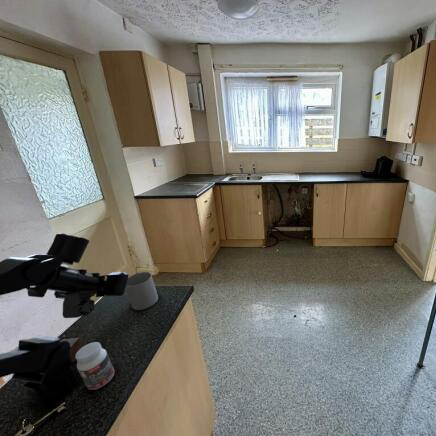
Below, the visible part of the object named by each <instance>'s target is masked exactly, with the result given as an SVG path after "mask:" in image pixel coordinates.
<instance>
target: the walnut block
mask: <svg viewBox="0 0 436 436" xmlns="http://www.w3.org/2000/svg"><path fill="white" fill-rule="evenodd" d="M62 340H63V341H68V342H69V343H70V346H71V349H70V364H74V363H75V362H76V361H77V360H76V357H75V355H76V353H77V352H78V351H79V350H80V349H81V348H82V347H84V345H83V342H82V341H81V339H80V337H74V338H64V339H62Z"/></svg>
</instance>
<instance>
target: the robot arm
mask: <svg viewBox="0 0 436 436" xmlns="http://www.w3.org/2000/svg"><path fill="white" fill-rule="evenodd" d="M89 243H90V240H89V239H88V238H85V237H82V236H75V235H71V234H66V233H60V232H59V233H58V232H57V233H56V234H55V236H54V238H53V241H52V243H51V246H49V249H48V250H47V252H46V254H45V253H35V254H33V255H29V256H24V257H23V256H21V257H20V256H12V257H11V256H10V257H7V258H4V259H3V260H1V261H0V296H3V295H8V294H11V293H15V292H19V291H22V290H25V289H26V291H27V296H28V297H30V298H31V297H33V298H40V299H41V298H44V297H45V296H46V293H47V291H53V292H54V293H53V295H54V297H55V299H60V300H63V301H62V317H63V318H64V319H77V318H81V317H87V316H89V315H90V314H91V313H93V312H94V311H95V304H96V303H95V300H94V299H91V298H92V297H95V298H104V297H122V296H123V295H124V294H125V292H126V289H125V287H126V283H127V280H128V277H130V274H129V273H128V272H125V271H114V272H113V271H111V272H110V273H109V274H103V275H101V273H99V272H88V270H87V269H84V268H81V269H75V268H71V267H67V266H73V265H74V264H80V262H81V260H82V257H83V256H84V254H85V252H86V250H87V248H88V246H89ZM65 265H66V266H65ZM70 349H71V346H70V343H69V342H68V341H63V339H62V338H61V337H53V336H45V335H37V336H34V337H31V338H26V339H25V338H24V339H19V340H18V345H17V346H16V347H15V348H14V349H12V350H10V351H7V352H3V353H0V378H4V377H7V376H11V375H12V376H11V379H12V380H14V381H17V382H23V383H25V384H23V387H24V388H25V390H26V392H27V393H28V394H29V396H30V398H31V399H30V400H29V402H30V403H31V404H33V405H35V406H39V407H42V408H45V409H48V410H50V409H52V408H53V407H54V406H55V405H57V403H58V402H59V401H60V400H62V399H63V398H64V397H65V396H66V395H67V394H68V393H69V392H70V391H72V390H73V388H74V387H75V386H77V384H78V383H79V382H80V380H79V379H78V378H75V377H76V375H75V373H74V372H73V371H74V370H73V369H72V368H71V363H70Z"/></svg>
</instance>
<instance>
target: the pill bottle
mask: <svg viewBox="0 0 436 436" xmlns="http://www.w3.org/2000/svg"><path fill="white" fill-rule="evenodd" d="M75 357H76V360H75V361H76V362H77V363H76V369H77V371H78V372H79V375H80V376H81V378H82V381H83V383H84V385H85V386H86V389H88V390H93V391H94V390H98V389H100V388H102V387H104V386H105V385H107V384H108V383H110V381H111V380H112V379H113V377H114V375H115V368H114V365H113V364H112V361H111V358H110V357H109V354H108V352H107V350H106V349H104V348H103V347H102V345H101V343H100V342H98V341H94V342H89V343H88V344H86V345H83V347H82V348H81V349H80V350H79V351H78V352H77V353H76V355H75Z"/></svg>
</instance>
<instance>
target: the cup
mask: <svg viewBox="0 0 436 436" xmlns="http://www.w3.org/2000/svg"><path fill="white" fill-rule="evenodd" d="M125 292H126V295H127V298H128V301H129V303H130V306H131V308H132V309H133V310H134V311H142V310H147V309H148V308H150V307H152V306H153V305H155V304H156V303H157V302H158V300H159V295H158V293H157V289H156V285H155V281H154V278H153V276H152V273H151V272H149V271H140V272H136V273H134V274H132V275H129V276H128V280H127V283H126V287H125Z"/></svg>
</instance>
